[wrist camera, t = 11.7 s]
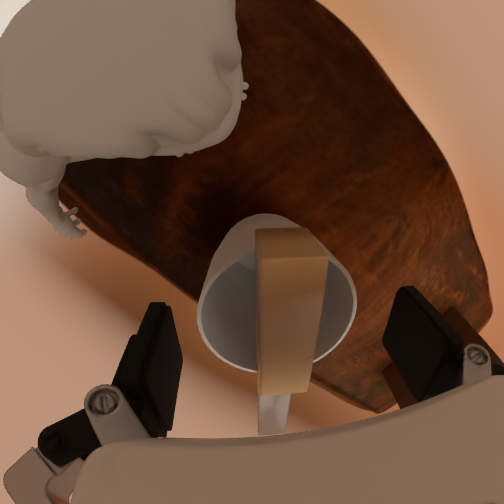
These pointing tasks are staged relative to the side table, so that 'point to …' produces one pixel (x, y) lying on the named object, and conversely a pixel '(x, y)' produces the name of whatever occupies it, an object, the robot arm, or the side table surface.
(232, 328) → the cup
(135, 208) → the side table surface
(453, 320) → the dark rectangular block
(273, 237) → the knife
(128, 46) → the figurine
